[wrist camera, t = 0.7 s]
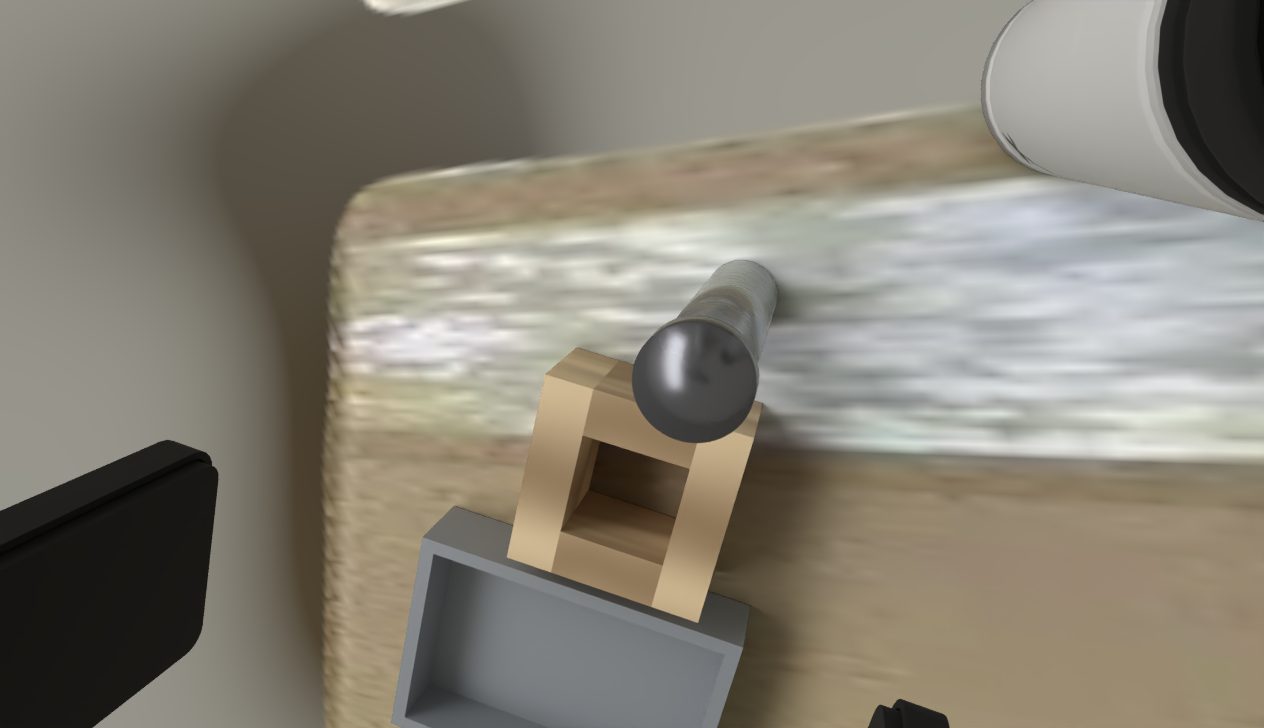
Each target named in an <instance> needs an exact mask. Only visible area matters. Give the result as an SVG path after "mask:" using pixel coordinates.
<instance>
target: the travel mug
mask: <svg viewBox="0 0 1264 728" xmlns="http://www.w3.org/2000/svg"><path fill="white" fill-rule="evenodd" d="M981 102H982V108H983V113H984V118H985V120H986V123H987V125H988V127H989V129H990V132H991V134H992V136H993V137H994V138H995V140H996V141H997V142H998V144H999V145H1000V147H1001V148H1002V149H1003V150H1004V151H1005V152H1006V153H1007V154H1009V155H1010V156H1011V157H1012V158H1013V159H1014V160H1015V161H1017V162H1019V163H1021V164H1023V165H1024V166H1026V167H1028V168H1030V169H1032V170H1035V171H1038V172H1042V173H1045V174H1048V175H1052V176H1057V177H1061V178H1066V179H1071V180H1075V181H1080V182H1084V183H1089V184H1093V185H1098V186H1102V187H1107V188H1112V189H1116V190H1121V191H1125V192H1130V193H1134V194H1139V195H1143V196H1148V197H1153V198H1157V199H1162V200H1166V201H1171V202H1175V203H1180V204H1184V205H1189V206H1194V207H1198V208H1203V209H1207V210H1212V211H1216V212H1221V213H1225V214H1230V215H1234V216H1239V217H1244V218H1248V219H1253V220H1257V221H1262V222H1264V0H1032V1H1031V2H1029V3H1028V4H1027V5H1025V6H1024V7H1023V8H1022V9H1020V10H1019V11H1018V12H1017V13H1016V14H1015V15H1014V17H1013V18H1012V19H1011V20H1010V21H1009V22H1008V23H1007V24H1006V25H1005V26H1004V28H1003V29H1002V31H1001V32H1000V34H999V35H998V37H997V39H996V40H995V42H994V43H993V45H992V47H991V50H990V52H989V55H988V57H987V60H986V62H985V66H984V71H983V76H982V80H981Z"/></svg>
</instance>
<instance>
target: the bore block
mask: <svg viewBox="0 0 1264 728" xmlns="http://www.w3.org/2000/svg"><path fill="white" fill-rule="evenodd" d="M633 366H634V365H632V364H629V363H626V362H622V361H619V360H616V359H612V358H609V357H606V356H602V355H599V354H596V353H592V352H589V351H586V350H582V349H579V348H575V349H574V350H573V351H572V352H571V353H570V354H568V355H567V356H566V357H565V358H564V359H563V360H561V361H560V362H559V363H558V364H557V365H556V366H554V367H553V368H552V369H551V370H550V371H549V372H547V373H546V374H545V377H544V382H543V387H542V392H541V396H540V401H539V406H538V411H537V415H536V420H535V425H534V430H533V435H532V439H531V444H530V449H529V454H528V458H527V463H526V468H525V473H524V477H523V482H522V487H521V492H520V496H519V501H518V506H517V511H516V516H515V520H514V525H513V530H512V535H511V539H510V544H509V549H508V554H507V558H510V559H513V560H516V561H519V562H522V563H525V564H528V565H531V566H533V567H536V568H539V569H542V570H545V571H548V572H551V573H554V574H557V575H560V576H563V577H566V578H568V579H571V580H574V581H577V582H580V583H583V584H586V585H589V586H592V587H595V588H598V589H601V590H603V591H606V592H609V593H612V594H615V595H618V596H621V597H624V598H627V599H630V600H633V601H636V602H638V603H641V604H644V605H647V606H650V607H653V608H656V609H659V610H662V611H665V612H668V613H670V614H673V615H676V616H679V617H682V618H685V619H688V620H691V621H694V622H697V623H698V621H699V618H700V615H701V611H702V608H703V605H704V601H705V598H706V595H707V591H708V588H709V585H710V582H711V578H712V575H713V572H714V568H715V565H716V562H717V559H718V555H719V552H720V549H721V545H722V542H723V539H724V536H725V532H726V529H727V526H728V522H729V519H730V516H731V513H732V509H733V506H734V503H735V499H736V496H737V493H738V489H739V486H740V483H741V480H742V476H743V473H744V470H745V466H746V463H747V460H748V457H749V453H750V450H751V447H752V443H753V440H754V437H755V433H756V429H757V425H758V421H759V417H760V413H761V409H762V405H763V403H760V402H756V401H754V402H753V405H752V408H751V410H750V412H749V414H748V416H747V417H746V419H745V420H744V421H743V423H742V424H741V425H740V426H739V427H738V428H737V429H736V430H734V431H733V432H732V433H730V434H729V435H727V436H725V437H723V438H721V439H718V440H715V441H711V442H706V443H687V442H682V441H678V440H675V439H673V438H670V437H668V436H666V435H664V434H662V433H661V432H660V431H658V430H657V429H655V428H654V427H653V426H652V425H651V424H650V423H649V422H648V421H647V420H646V419H645V417H644V416H643V414H642V413H641V411H640V409H639V408H638V406H637V403H636V401H635V398H634V394H633V389H632V372H633ZM600 441H602V442H605V443H609V444H612V445H615V446H618V447H621V448H624V449H628V450H631V451H634V452H637V453H640V454H643V455H647V456H650V457H653V458H656V459H659V460H663V461H666V462H669V463H672V464H675V465H678V466H682V467H685V468H688V469H690V471H689V474H688V478H687V481H686V485H685V488H684V492H683V496H682V499H681V503H680V506H679V510H678V513H677V517H676V518H674V517H671V516H667V515H664V514H661V513H658V512H655V511H652V510H649V509H646V508H643V507H640V506H637V505H634V504H631V503H627V502H624V501H621V500H618V499H615V498H612V497H609V496H606V495H603V494H600V493H597V492H594V491H591V490H589V486H590V482H591V478H592V473H593V469H594V465H595V461H596V457H597V452H598V448H599V444H600Z"/></svg>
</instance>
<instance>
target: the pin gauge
mask: <svg viewBox="0 0 1264 728" xmlns="http://www.w3.org/2000/svg"><path fill="white" fill-rule="evenodd" d="M777 299H778V291H777V286H776V283H775V281H774V279H773V277H772V276H771V274H770V273H769V272H768V271H767V270H766V269H765V268H764V267H762V266H761V265H759V264H757V263H755V262H752V261H748V260H735V261H731V262H728V263H726V264H724V265H722V266H721V267H719V268H718V269H717V270H716V271H715V272H714V273H713V274H712V276H711V277H710V278H709V279H708V280H707V282H706V283H705V284H704V285H703V287H702V288H701V289H700V290H699V291H698V293H697V294H696V295H695V296H694V297H693V299H692V300H691V301H690V302H689V304H688V305H687V306H686V307H685V308H684V310H683V311H682V312H681V313H680V314H679V316H678V317H677V318H676V319H674V320H672V321H670V322H668V323H666V324H665V325H663V326H662V327H661V328H659V329H658V330H657V331H656V332H655V333H654V334H653V336H652V337H651V338H650V339H649V340H648V341H647V342H646V344H645V345H644V346H643V347H642V349H641V350H640V352H639V354H638V356H637V358H636V360H635V363H634V366H633V372H632V389H633V394H634V398H635V401H636V403H637V406H638V408H639V409H640V411H641V413H642V414H643V416H644V417H645V419H646V420H647V421H648V422H649V423H650V424H651V425H652V426H653V427H654V428H655V429H657V430H658V431H660V432H661V433H662V434H664V435H666V436H668V437H670V438H673V439H675V440H678V441H682V442H687V443H706V442H711V441H715V440H718V439H721V438H723V437H725V436H727V435H729V434H730V433H732V432H733V431H734V430H736V429H737V428H738V427H739V426H740V425H741V424H742V423H743V421H744V420H745V419H746V417H747V416H748V414H749V412H750V410H751V408H752V405H753V402H754V399H755V396H756V392H757V388H758V384H759V367H758V361H759V358H760V355H761V352H762V348H763V345H764V342H765V339H766V336H767V333H768V330H769V327H770V324H771V320H772V317H773V314H774V311H775V308H776V305H777Z"/></svg>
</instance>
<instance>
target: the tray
mask: <svg viewBox="0 0 1264 728" xmlns="http://www.w3.org/2000/svg"><path fill="white" fill-rule="evenodd" d="M512 530H513V526H512V525H509V524H506V523H503V522H500V521H497V520H494V519H491V518H488V517H485V516H482V515H479V514H476V513H473V512H470V511H467V510H464V509H461V508H458V507H455V506H453V507H452V508H451V509H450V510H449V511H448V512H447V513H446V514H445V515H444V516H443V517H442V518H441V519H440V520H439V521H438V522H437V523H436V524H435V525H434V526H433V527H432V528H431V529H430V530H429V531H428V532H427V533H426V534H425V535H424V536H423V538H422V544H421V550H420V556H419V561H418V567H417V573H416V579H415V585H414V591H413V597H412V602H411V608H410V614H409V620H408V626H407V632H406V638H405V643H404V649H403V655H402V661H401V667H400V673H399V679H398V684H397V690H396V696H395V702H394V708H393V714H392V720H391V724H394V725H397V726H399V727H402V728H717V726H718V723H719V720H720V717H721V714H722V711H723V708H724V705H725V702H726V699H727V696H728V693H729V690H730V687H731V684H732V681H733V678H734V675H735V672H736V669H737V666H738V663H739V660H740V656H741V653H742V650H743V647H744V641H745V636H746V630H747V624H748V618H749V612H750V607H751V606H750V605H747V604H744V603H741V602H738V601H735V600H732V599H729V598H726V597H723V596H720V595H717V594H714V593H711V592H708V591H707V595H706V598H705V601H704V605H703V608H702V611H701V615H700V618H699V621H698V623H697V622H694V621H691V620H688V619H685V618H682V617H679V616H676V615H673V614H670V613H668V612H665V611H662V610H659V609H656V608H653V607H650V606H647V605H644V604H641V603H638V602H636V601H633V600H630V599H627V598H624V597H621V596H618V595H615V594H612V593H609V592H606V591H603V590H601V589H598V588H595V587H592V586H589V585H586V584H583V583H580V582H577V581H574V580H571V579H568V578H566V577H563V576H560V575H557V574H554V573H551V572H548V571H545V570H542V569H539V568H536V567H533V566H531V565H528V564H525V563H522V562H519V561H516V560H513V559H510V558H507V554H508V549H509V544H510V539H511V535H512Z"/></svg>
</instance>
